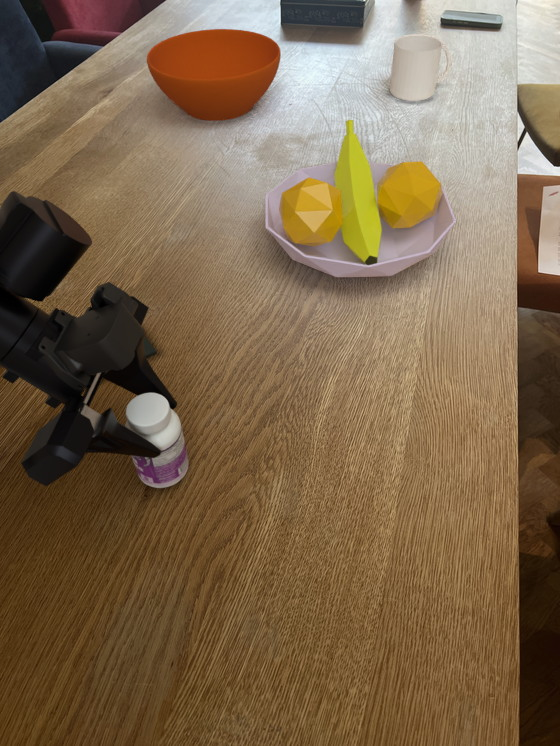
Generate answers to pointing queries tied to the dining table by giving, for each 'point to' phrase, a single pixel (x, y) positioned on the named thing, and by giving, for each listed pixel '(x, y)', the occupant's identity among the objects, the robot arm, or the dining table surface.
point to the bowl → (215, 71)
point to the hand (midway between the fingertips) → (166, 430)
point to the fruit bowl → (359, 214)
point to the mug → (417, 66)
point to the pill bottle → (158, 440)
